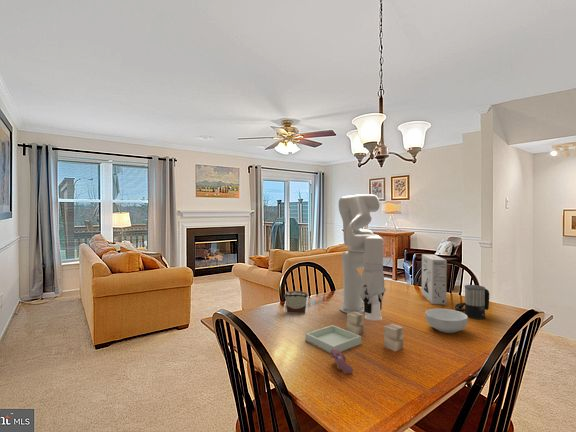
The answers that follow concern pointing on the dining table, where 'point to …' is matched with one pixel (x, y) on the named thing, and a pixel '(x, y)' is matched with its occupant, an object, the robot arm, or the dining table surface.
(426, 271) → the cereal box
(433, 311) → the cereal bowl
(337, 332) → the tray
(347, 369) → the video game controller
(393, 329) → the maple block
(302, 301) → the food container
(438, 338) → the dining table surface
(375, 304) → the downlight
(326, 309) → the dining table surface
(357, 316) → the maple block
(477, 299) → the milk frother
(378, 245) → the robot arm
